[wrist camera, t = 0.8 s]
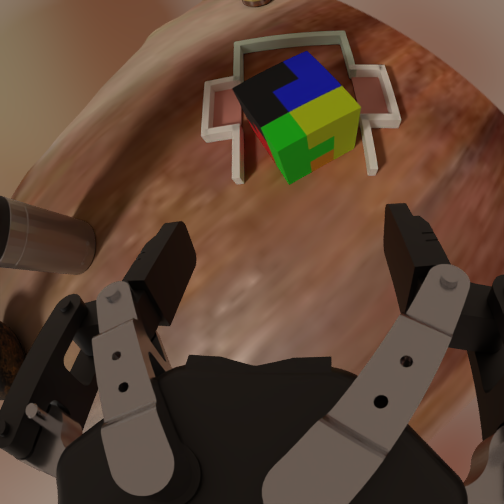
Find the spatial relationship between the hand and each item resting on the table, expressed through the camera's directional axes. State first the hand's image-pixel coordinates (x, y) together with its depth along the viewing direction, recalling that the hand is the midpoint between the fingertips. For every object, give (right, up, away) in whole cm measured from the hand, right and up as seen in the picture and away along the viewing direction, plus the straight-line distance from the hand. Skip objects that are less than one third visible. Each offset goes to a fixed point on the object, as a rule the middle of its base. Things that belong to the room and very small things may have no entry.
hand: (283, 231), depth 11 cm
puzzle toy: (+6, +14, +26) cm, 31 cm away
